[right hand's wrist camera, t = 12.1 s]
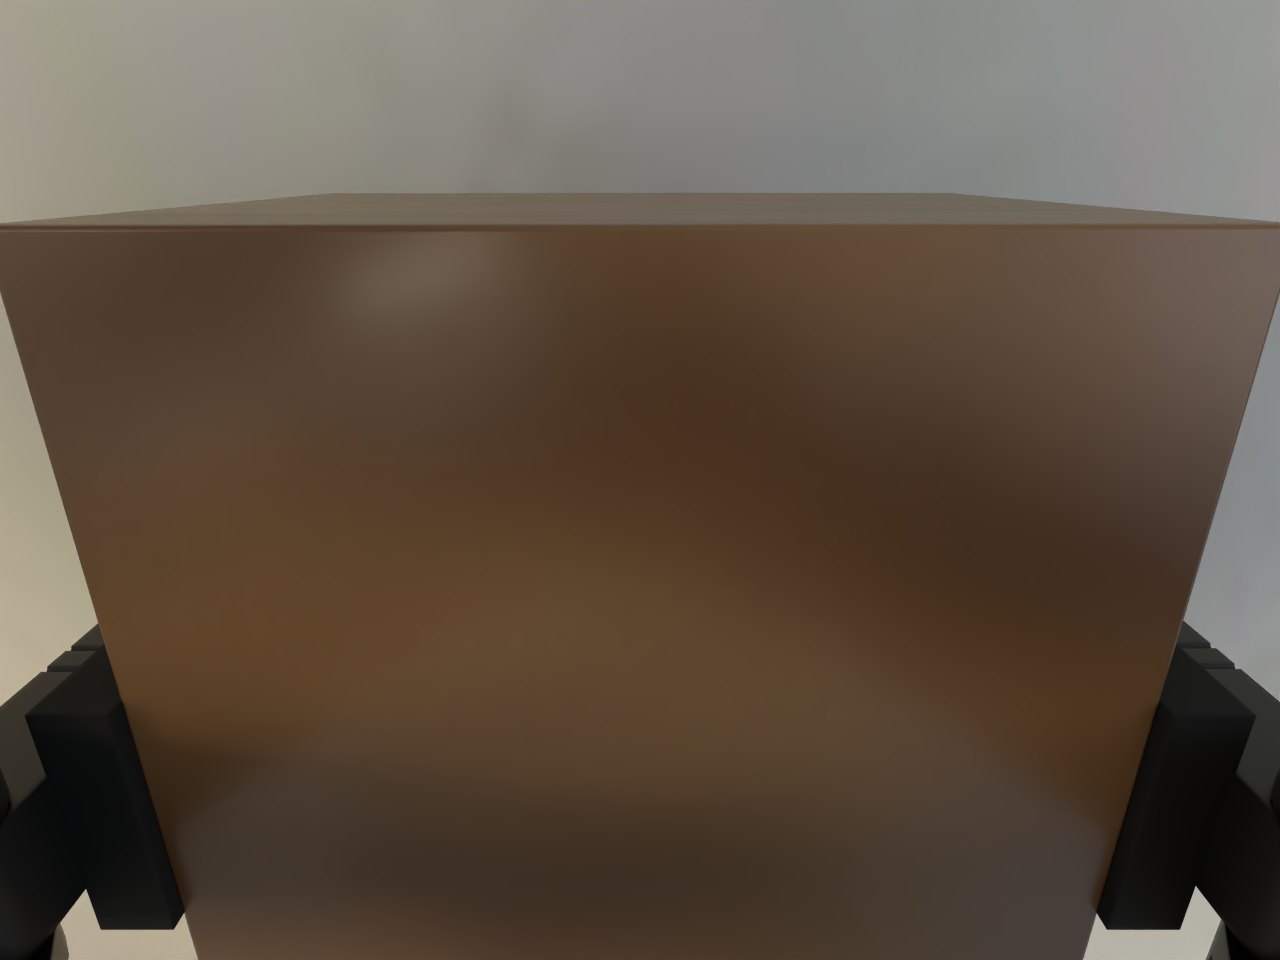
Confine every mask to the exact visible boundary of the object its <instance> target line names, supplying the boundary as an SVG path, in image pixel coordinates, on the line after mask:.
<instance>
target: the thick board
mask: <svg viewBox="0 0 1280 960" xmlns="http://www.w3.org/2000/svg"><path fill="white" fill-rule="evenodd" d="M0 292H1V296H2V299H3V303H4V306H5V309H6V313H7V316H8V319H9V323H10V326H11V330H12V333H13V336H14V340H15V343H16V346H17V350H18V353H19V357H20V360H21V363H22V367H23V370H24V373H25V377H26V380H27V384H28V387H29V390H30V394H31V397H32V400H33V404H34V407H35V411H36V414H37V417H38V421H39V424H40V427H41V431H42V434H43V438H44V441H45V444H46V448H47V451H48V454H49V458H50V461H51V465H52V468H53V471H54V475H55V478H56V481H57V485H58V488H59V491H60V495H61V498H62V502H63V505H64V508H65V512H66V515H67V518H68V522H69V525H70V529H71V532H72V535H73V539H74V542H75V545H76V549H77V552H78V556H79V559H80V562H81V566H82V569H83V572H84V576H85V579H86V583H87V586H88V589H89V593H90V596H91V599H92V603H93V606H94V610H95V613H96V616H97V620H98V623H99V626H100V630H101V633H102V637H103V640H104V643H105V647H106V650H107V653H108V657H109V660H110V664H111V667H112V670H113V674H114V677H115V680H116V684H117V687H118V691H119V694H120V697H121V701H122V704H123V707H124V711H125V714H126V718H127V721H128V724H129V728H130V731H131V734H132V738H133V741H134V745H135V748H136V751H137V755H138V758H139V761H140V765H141V768H142V772H143V775H144V778H145V782H146V785H147V788H148V792H149V795H150V799H151V802H152V805H153V809H154V812H155V815H156V819H157V822H158V826H159V829H160V832H161V836H162V839H163V842H164V846H165V849H166V853H167V856H168V859H169V863H170V866H171V869H172V873H173V876H174V880H175V883H176V886H177V890H178V893H179V896H180V900H181V903H182V907H183V910H184V913H185V917H186V920H187V923H188V927H189V930H190V934H191V937H192V940H193V944H194V947H195V950H196V954H197V957H198V960H1083V958H1084V955H1085V951H1086V948H1087V944H1088V941H1089V938H1090V934H1091V931H1092V927H1093V924H1094V921H1095V917H1096V914H1097V911H1098V907H1099V904H1100V900H1101V897H1102V894H1103V890H1104V887H1105V883H1106V880H1107V877H1108V873H1109V870H1110V866H1111V863H1112V860H1113V856H1114V853H1115V849H1116V846H1117V843H1118V839H1119V836H1120V832H1121V829H1122V826H1123V822H1124V819H1125V816H1126V812H1127V809H1128V805H1129V802H1130V799H1131V795H1132V792H1133V788H1134V785H1135V782H1136V778H1137V775H1138V771H1139V768H1140V765H1141V761H1142V758H1143V754H1144V751H1145V748H1146V744H1147V741H1148V737H1149V734H1150V731H1151V727H1152V724H1153V721H1154V717H1155V714H1156V710H1157V707H1158V704H1159V700H1160V697H1161V693H1162V690H1163V687H1164V683H1165V680H1166V676H1167V673H1168V670H1169V666H1170V663H1171V659H1172V656H1173V653H1174V649H1175V646H1176V642H1177V639H1178V636H1179V632H1180V629H1181V626H1182V622H1183V619H1184V615H1185V612H1186V609H1187V605H1188V602H1189V598H1190V595H1191V592H1192V588H1193V585H1194V581H1195V578H1196V575H1197V571H1198V568H1199V564H1200V561H1201V558H1202V554H1203V551H1204V547H1205V544H1206V541H1207V537H1208V534H1209V531H1210V527H1211V524H1212V520H1213V517H1214V514H1215V510H1216V507H1217V503H1218V500H1219V497H1220V493H1221V490H1222V486H1223V483H1224V480H1225V476H1226V473H1227V469H1228V466H1229V463H1230V459H1231V456H1232V452H1233V449H1234V446H1235V442H1236V439H1237V436H1238V432H1239V429H1240V425H1241V422H1242V419H1243V415H1244V412H1245V408H1246V405H1247V402H1248V398H1249V395H1250V391H1251V388H1252V385H1253V381H1254V378H1255V374H1256V371H1257V368H1258V364H1259V361H1260V357H1261V354H1262V351H1263V347H1264V344H1265V341H1266V337H1267V334H1268V330H1269V327H1270V324H1271V320H1272V317H1273V313H1274V310H1275V307H1276V303H1277V300H1278V296H1279V293H1280V222H1269V221H1258V220H1246V219H1235V218H1224V217H1212V216H1201V215H1190V214H1178V213H1167V212H1156V211H1145V210H1133V209H1122V208H1111V207H1099V206H1088V205H1077V204H1065V203H1054V202H1043V201H1031V200H1020V199H1009V198H997V197H986V196H975V195H964V194H952V193H535V194H324V195H312V196H301V197H290V198H279V199H268V200H257V201H246V202H234V203H223V204H212V205H201V206H190V207H179V208H168V209H156V210H145V211H134V212H123V213H112V214H101V215H89V216H78V217H67V218H56V219H45V220H34V221H23V222H11V223H0Z"/></svg>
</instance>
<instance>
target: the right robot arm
mask: <svg viewBox="0 0 1280 960" xmlns="http://www.w3.org/2000/svg"><path fill="white" fill-rule="evenodd" d="M71 648H72V649H71V651H65V652H64V653H63V654H62V655H61V656H59V657H58V658H57V659H56V660H55V661H54V662H52V663H51V664H50V665H49V666H48V667H47V672H41V673H39V674H38V675H37V676H36V677H35V678H34V679H32V680H31V681H30V682H29V683H28V684H26V685H25V686H24V687H23V688H22V689H21V690H19V691H18V692H17V693H16V694H15V695H14V696H12V697H11V698H10V699H9V700H8V701H6V702H5V703H4V704H3V705H2V706H1V707H0V960H68V957H69V953H68V947H67V942H66V937H65V935H64V932H63V929H62V927H61V924H60V922H61V921H62V919H63V918H64V917H65V915H66V914H67V913H68V911H69V910H70V909H71V908H72V906H73V905H74V904H75V902H76V901H77V900H78V898H79V897H80V896H81V894H82V893H83V892H84V890H85V889H87V892H88V895H89V898H90V901H91V903H92V906H93V909H94V912H95V915H96V917H97V920H98V923H99V926H100V929H101V930H174V928H175V927H176V925H177V923H178V922H179V920H180V918H181V917H182V915H183V914H184V910H183V907H182V903H181V900H180V896H179V893H178V890H177V886H176V883H175V880H174V876H173V873H172V869H171V866H170V863H169V859H168V856H167V853H166V849H165V846H164V842H163V839H162V836H161V832H160V829H159V826H158V822H157V819H156V815H155V812H154V809H153V805H152V802H151V799H150V795H149V792H148V788H147V785H146V782H145V778H144V775H143V772H142V768H141V765H140V761H139V758H138V755H137V751H136V748H135V745H134V741H133V738H132V734H131V731H130V728H129V724H128V721H127V718H126V714H125V711H124V707H123V704H122V701H121V697H120V694H119V691H118V687H117V684H116V680H115V677H114V674H113V670H112V667H111V664H110V660H109V657H108V653H107V650H106V647H105V643H104V640H103V637H102V633H101V630H100V626H99V623H98V624H97V625H96V626H95V627H93V628H92V629H91V630H90V631H89V632H88V633H86V634H85V635H84V636H83V637H82V638H81V639H79V640H78V641H77V642H76V643H75V644H73V645H72V646H71ZM1195 886H1196V887H1197V888H1198V889H1199V890H1200V892H1201V893H1202V894H1203V896H1204V897H1205V898H1206V900H1207V901H1208V902H1209V904H1210V905H1211V906H1212V907H1213V909H1214V910H1215V911H1216V913H1217V914H1218V915H1219V917H1220V918H1221V921H1220V924H1219V927H1218V929H1217V932H1216V935H1215V937H1214V940H1213V942H1212V945H1211V948H1210V950H1209V953H1208V955H1207V958H1206V960H1280V702H1279V701H1278V700H1277V699H1275V698H1274V697H1273V696H1272V695H1271V694H1270V693H1268V692H1267V691H1266V690H1265V689H1264V688H1262V687H1261V686H1260V685H1259V684H1258V683H1257V682H1255V681H1254V680H1253V679H1252V678H1251V677H1249V676H1248V675H1247V674H1246V673H1245V672H1244V671H1242V670H1241V669H1235V667H1234V663H1233V662H1232V661H1230V660H1229V659H1228V658H1227V657H1226V656H1225V655H1223V654H1222V653H1221V652H1220V651H1219V650H1217V649H1216V648H1211V647H1210V643H1209V642H1208V641H1207V640H1206V639H1204V638H1203V637H1202V636H1201V635H1200V634H1199V633H1197V632H1196V631H1195V630H1194V629H1193V628H1191V627H1190V626H1189V625H1188V624H1187V623H1186V622H1184V621H1183V622H1182V626H1181V629H1180V632H1179V636H1178V639H1177V642H1176V646H1175V649H1174V653H1173V656H1172V659H1171V663H1170V666H1169V670H1168V673H1167V676H1166V680H1165V683H1164V687H1163V690H1162V693H1161V697H1160V700H1159V704H1158V707H1157V710H1156V714H1155V717H1154V721H1153V724H1152V727H1151V731H1150V734H1149V737H1148V741H1147V744H1146V748H1145V751H1144V754H1143V758H1142V761H1141V765H1140V768H1139V771H1138V775H1137V778H1136V782H1135V785H1134V788H1133V792H1132V795H1131V799H1130V802H1129V805H1128V809H1127V812H1126V816H1125V819H1124V822H1123V826H1122V829H1121V832H1120V836H1119V839H1118V843H1117V846H1116V849H1115V853H1114V856H1113V860H1112V863H1111V866H1110V870H1109V873H1108V877H1107V880H1106V883H1105V887H1104V890H1103V894H1102V897H1101V900H1100V904H1099V907H1098V911H1097V914H1098V916H1099V917H1100V919H1101V921H1102V922H1103V924H1104V926H1105V927H1106V929H1107V930H1180V928H1181V925H1182V922H1183V920H1184V917H1185V914H1186V911H1187V908H1188V906H1189V903H1190V900H1191V897H1192V894H1193V892H1194V889H1195Z"/></svg>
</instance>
